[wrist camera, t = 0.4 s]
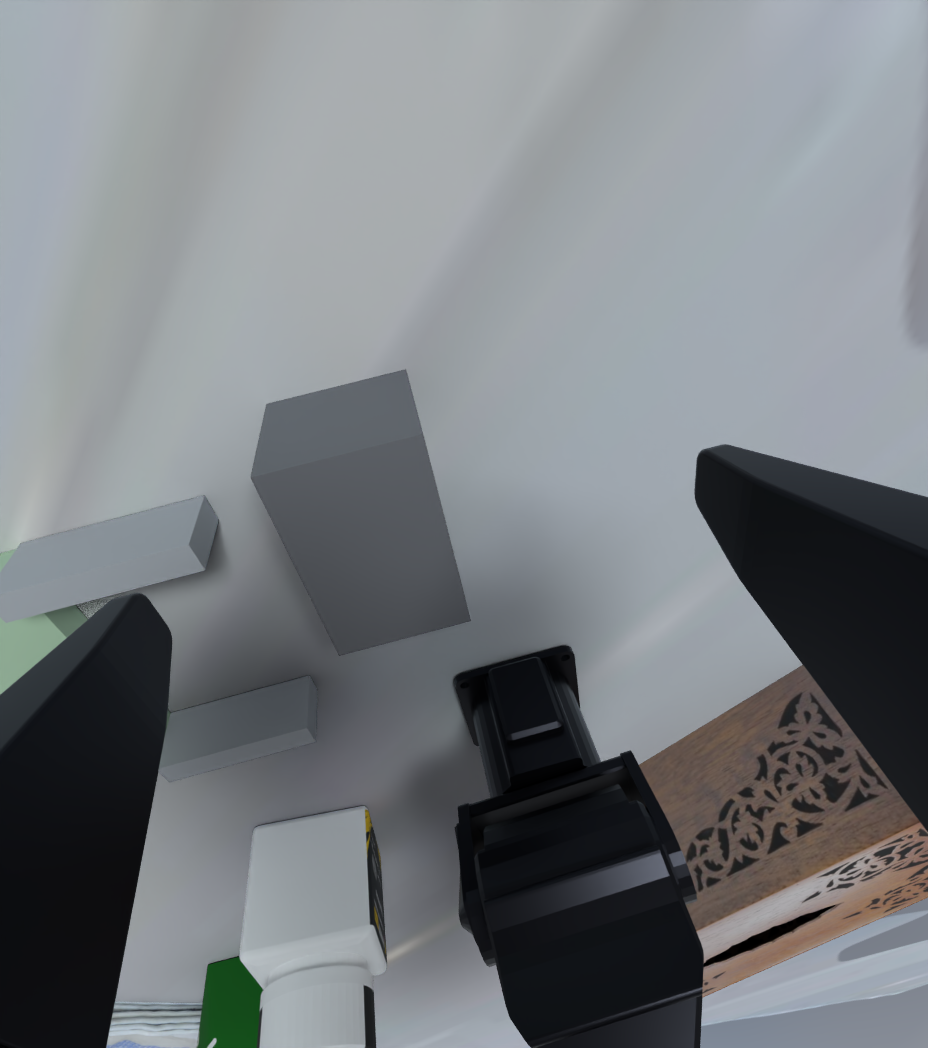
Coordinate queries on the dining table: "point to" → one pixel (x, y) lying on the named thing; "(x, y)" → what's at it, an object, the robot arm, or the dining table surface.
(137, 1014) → the dish towel
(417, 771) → the dining table surface
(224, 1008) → the milk carton
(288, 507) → the gray cuboid pillar
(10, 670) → the deck
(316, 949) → the medicine bottle
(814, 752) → the tissue box cover
